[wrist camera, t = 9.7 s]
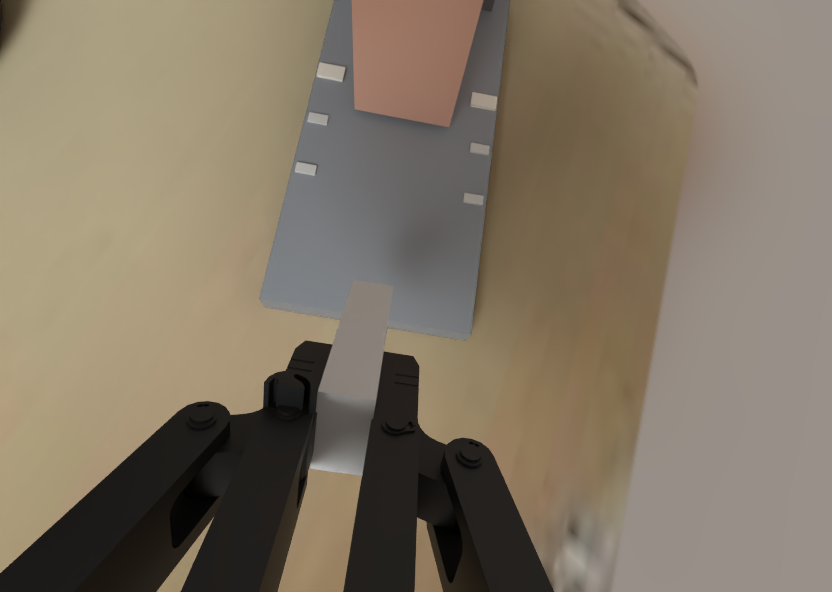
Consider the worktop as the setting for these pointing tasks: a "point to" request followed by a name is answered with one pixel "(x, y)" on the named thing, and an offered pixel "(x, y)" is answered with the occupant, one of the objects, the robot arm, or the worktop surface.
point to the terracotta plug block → (411, 56)
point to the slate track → (389, 193)
